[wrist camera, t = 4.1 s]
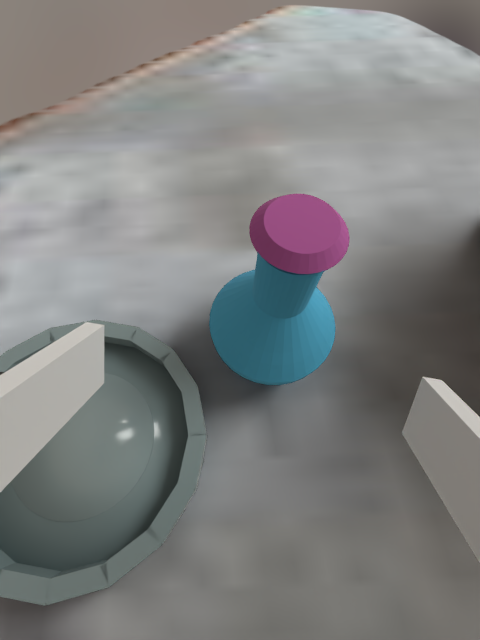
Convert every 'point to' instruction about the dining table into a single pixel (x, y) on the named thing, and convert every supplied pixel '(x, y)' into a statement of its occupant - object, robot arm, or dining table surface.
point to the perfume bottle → (281, 293)
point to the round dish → (103, 473)
